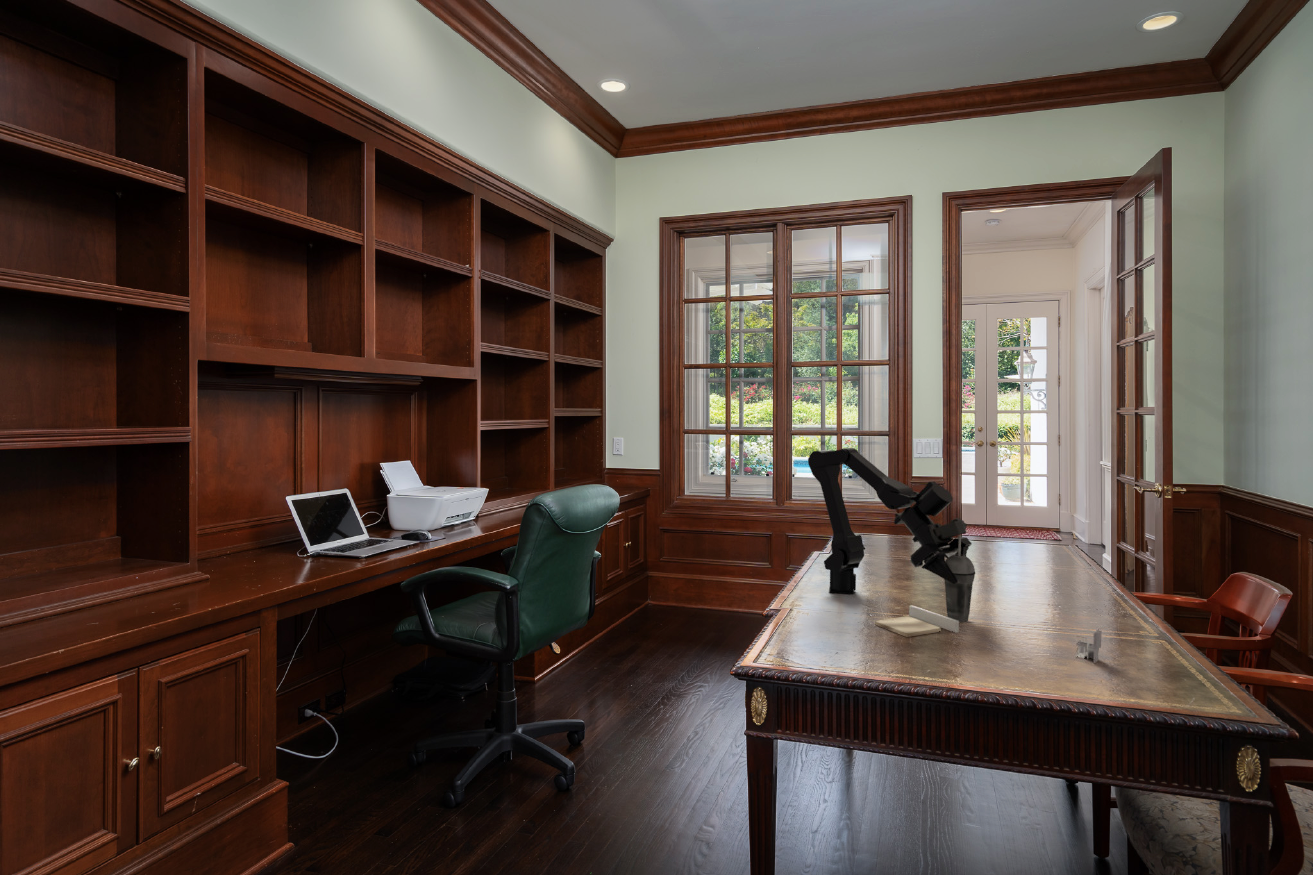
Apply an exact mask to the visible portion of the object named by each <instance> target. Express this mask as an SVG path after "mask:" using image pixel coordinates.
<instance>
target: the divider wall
mask: <svg viewBox="0 0 1313 875" xmlns="http://www.w3.org/2000/svg"><path fill="white" fill-rule="evenodd" d="M908 616H909V617H912V618H915V619H918V620H920V621H923V622H926V623H929V624H932V625H934V626H937V627H940V628H941V629H944V630H947V631H949V632H952V631H953V633H956V634H957V633H959V631H960V623H959V621H957V620H954V619H951V618H949V617H948V616H945V615H942V614H939V613H937V612H934V611H930V610H927V609H924V608H921V607H919V606H915V605H909V611H908Z"/></svg>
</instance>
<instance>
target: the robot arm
mask: <svg viewBox="0 0 1313 875" xmlns="http://www.w3.org/2000/svg"><path fill="white" fill-rule="evenodd" d="M807 463H808V464H807V465H808V467H809V469H810V471H811V475H812V476H813V477H814V478H815V479H816V480H817V482H819V484H820V488H821V491H822V495H823V499H824V500H823V501H824V503H825V506H826V510H827V514H828V518H829V522H830V527H831V530H832V534H833V535H832V539H831V543H830V548H831V554H830V555H829V556H828V557H826V559H824V561H823V564H824V569H825V570H828V571H829V589H828V593H832V594H833V593H835V594H848V595H854V594H855V592H856V591H857V590H856V589H857V575H856V573H855V572H854V571H855V569H858V568H859V566H860V564H861V562H862V560H863V559H864V557H865V550H866V548H865V545H864V543H863V542H864V541H863V538H862V535H861V534H856V533H855V532H854V531H853V530H852V528H851V524H850V520H849V516H848V513H847V509H846V505H845V501H844V498H843V494H842V490H841V486H840V483H839V476H840V472H841V465H846V467H848V468H849V469H850V470H851V471H852V472H854V473H855V474H856V475H858V477H860V479H862V480H863V481H864V482H865V483H867V484H868V485H869V486H870V487H871V488H872V489H873V490H874V491H875V493H876V494H877V498H878V499H879V500H880V501H881V503H882V504H883V505H884V506H885V507H886V508H887V509H889V510H892V511H893V510H901V509H904V510H903V511H901V512H899V513H898V512H897V513H895V514H894V515H895V516H894V522H893V524H894V525H896V526H897V525H901V524H904V525H905V527H906V528H907V529H908V530H909V532H910V533H911V534H912V535H913V537H912V539H911V540H912V541H913V542H914V543H919V545H920V547H919V548H918V549H916V550H915V551H914V552H913V553H912V554H911V555H910V562H911V564H912V565H913V567H914V568H919V567H921V569H923V570H926V571H928V572H931V573H932V574H935V575H936V576H939V577H940V578H942V579H943V580H944V579H945V580H947V581H949V582H951V583H952V584H956V583H957V582H958V581H957V579H956V577H955V576H954V574H953V573H952V571H951V569H950V568H949V566H948V565H947V563H946V562H945V561H946V559H947V558H949V557H950V556H952V555H955V554H958V543H959V537H956V536H959V535H964V534H967V530H966V529H967V527H968V524H967V523H966V522H965V521H964V520H963V519H961V518H960V517H956V518H955V519H951V520H950V522H948V523H946V524H943V525H942V524H941V523H939V522H937V523H935V522H934V521H933V520H932V519H931V517H936V516H938V515H939V514H940V513H941V512H942V511H943V510H944V509H946V507H947V506H949V505H950V504H951V503H952V502H953V500H954V498H953V496H952V494H951V492H950V491H949V490H948V489H945V488H944V487H943V486H941V485H939V484H937V483H936V481H935V480H934V481H933V480H932V481H931V480H930V481H928V482H927V483H926V485H925V486H924V488H922V490H920V491H919V492H918V491H914V490H913V489H912V488H911V487H910V486H908V485H906V484H905V483H903V482H902V481H899V480H897V479H894V478H891V477H889V476H888V475H886V474H885V473H884V472H882V470H880V469H879V468H878V467H877V466H875V464H873V463H872V462H870V461H869V460H868V459H867V458H866V457H864V455H862V454H861V453H860V452H859V450H857V449H856V448H854V447H846V448H845V447H844V448H841V449H838V450H832V449H831V450H830V449H828V450H827V449H825V450H814V451H812V452H811V453H810V455H809V457H808V458H807ZM930 516H931V517H930ZM953 537H955V538H953ZM971 546H972V541H970V540H969V538H968V537H966V536H964V537H963V536H961V555H964V556H966V557H967V552H968V550H969V547H971ZM945 580H944V581H945Z"/></svg>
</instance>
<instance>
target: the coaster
mask: <svg viewBox="0 0 1313 875" xmlns="http://www.w3.org/2000/svg"><path fill="white" fill-rule="evenodd" d="M874 625H875V626H878V627H881V628H883V629H886V630H888V631H890V632H894V633H895V634H899V635H901V636H904V637H906V638H910V637H914V636H922V635H927V634H932V633H933V634H934V633H938V632H939V631H940V632H941V631H942V628H941V627H938V626H936V625H933V624H930V623H927V622H924V621H922V620H919V619H916V618H913V617H911V616H909V615H905V616H900V617H892V618H887V619H886V618H885V619H880V620H874Z"/></svg>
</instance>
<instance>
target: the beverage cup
mask: <svg viewBox="0 0 1313 875" xmlns="http://www.w3.org/2000/svg"><path fill="white" fill-rule="evenodd" d="M961 537H962V534H960V535H958V538H959V543H958V554H955V555H952V556H950V557H949V558H945V562H946V563H947V565H948V566H949V568H950V569H951V571H952V573H953V574H954V576H955V577H956V579H957V581H958V582H957V583H956V584H952V583H951V582H949V581H947V580H945V579H944V578H943V580H944V590H945V591H944V592H945V604H946V606H945V607H946V614H947V616H946V617H949V618H951V619H954V620H957V621H959V622H960V623H962V624H963V623H968V622H969V616H970V611H971V610H970V609H971V601H972V592H973V584H974V581H975V574H976V569H975V565H974V563H973V562H972V560H971V559H970V558H969V557H968V556H967V555H966V556H964V555H961ZM960 623H959V624H960Z"/></svg>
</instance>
